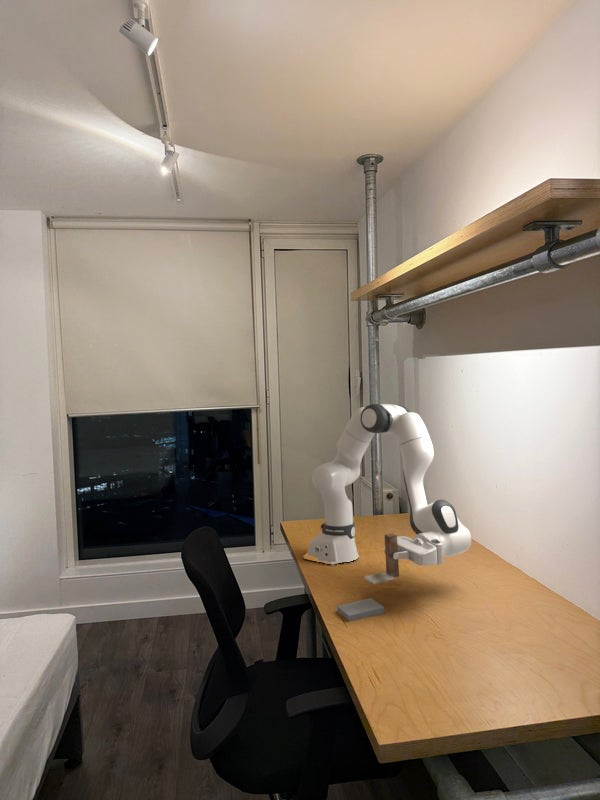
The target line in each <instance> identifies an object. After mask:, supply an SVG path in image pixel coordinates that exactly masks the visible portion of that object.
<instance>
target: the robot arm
mask: <svg viewBox="0 0 600 800" xmlns="http://www.w3.org/2000/svg"><path fill="white" fill-rule="evenodd" d="M375 434H380V435H381V434H382V435H394V436H395V438H396V440H397V444H398V447H399V450H400V453H401V458H402V459H401V460H402V465H403V466H402V467H403V469H402V470H403V471H402V472H403V481H404V486H405V491H406V495H407V500H408V504H409V505H408V506H409V524H410V528H411V529H412V531H413V532H414V533H415V534H416V535H415V537H414V538H411V537H409V536H406V535H400V536H397V545H398V552H393V553H392V558H394V559H398V560H399V559H400V560H408V561H410V562H412V563H414V564H416V565H417V566H418V565H419V566H422V567H423V566H424V567H425V566H433V565H443V564H444V557H445V558H447V557H454V556H456V555H457V556H458V555H460V554H463V553H465V552H467V551H468V550H469V549H470V547H471V544H472V534H471V532H470V530H469V529H468V528H467V527H466V526H465V525H463V523H462V522H461V521H460V519H459V518H458V517H459V516H457V511H456V508H454V506H453V504H451V503H450V502H449V501H447V500H445V499H438V500H435V501H433V502H430V503H429V504H428V502H427V501H428V500H427V496H426V491H425V487H424V479H425V478H424V477H425V475H426V473H427V470H428V468H429V467H430V466H431V464H432V462H433V460H434V456H435V451H434V446H433V442H432V439H431V436H430V434H429V431H428V429H427V426H426V424H425V423H424V421H423V419H422V418H421V416H420V415H419V414H418V413H416V412H412V411H410V410H409V408H407V407H406V406H403V405H399V404H398V405H397V404H393V403H392V404H391V403H371V404H368V405H367V406H362V407H359V408H358V409H357V410H356V411H355V412H354V413H353V414H352V415H351V417H350V419H349V420H348V422H347V424H346V425H345V427H344V429H343V431H342V433H341V435H340V437H339V439H338V440H337V443H336V449H337V453H336V456H335V457H334V458H333V460H331V461H329V462H326V463H323V464H320V465H319V466H318V467H316V468H315V469H314V470H313V471H312V474H311V481H312V485H313V487H314V488H315V489H316V490H317V491H319V494H320V495H321V498H322V503H323V508H324V523H322V524H320V525H319V529H320V530H321V531H320V532H319V533H318V534H317V535H315V537H313V538H312V539H311V540H310V541H309V544H308V549H307V551H308V555H309V556H313V557H316V558H318V560H319V561H322V562H326V563H330V564H335V563H340V562H341V563H342V562H350V561H353V560H356V559H357V558H358V557H359V558H360V556H359V553H358V548H357V544H356V538H355V536H356V527H355V521H354V514H353V513H354V511H353V503H352V501H351V500H350V499H349V498H348V496H347V493H346V487H347V486H350V485H352V484H353V483H354V482H355V481H356V480H358V479H359V477H360V475H361V462H362V460H363V457H364V455H365V453H366V451H367V449H368V448H369V446H370V443H371V442H372V440H373V438H374V437H375ZM384 552H385V549H384ZM356 561H357V560H356ZM350 563H351V562H350Z"/></svg>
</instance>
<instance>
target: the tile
mask: <svg viewBox="0 0 600 800" xmlns="http://www.w3.org/2000/svg"><path fill="white" fill-rule="evenodd" d="M336 611H338V612H339V613H340V614H339V613H338V612H337V613H338V614H339V615H341V616H342V615H343V616H344V617H345V618H344V617H343V616H342V617H343V618H344V619H345V620H347V622H349V621H350V622H355V621H358V620H362V619H366V618H369V617H373V616H378V615H382V614H385V611H386V610H385V607H384V605H382V604H380V603H379V602H377V601H376V600H374V599H373V598H372V597H371V598H367V599H366V598H365V599H362V600H361V599H360V600H356V601H353V602H349V603H345V604H339V605H337V606H336Z"/></svg>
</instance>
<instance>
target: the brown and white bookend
mask: <svg viewBox="0 0 600 800" xmlns="http://www.w3.org/2000/svg"><path fill="white" fill-rule="evenodd" d="M397 537H398V534H395V533H392V532H391V533H385V534H384V546H385V547H384V550H385V551H384V555H385V570H386V571H383V572H379V573H374V574H370V575H365V576H364V579H365V580H367V581H368V582H370V583H371V584H373V585H376V584H381V583H385V582H388V581H389V582H390V581H394V580H396V578H397V577H400V571H399V570H400V568H399V559H394V558H392V553H393V552H398V545H397Z"/></svg>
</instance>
